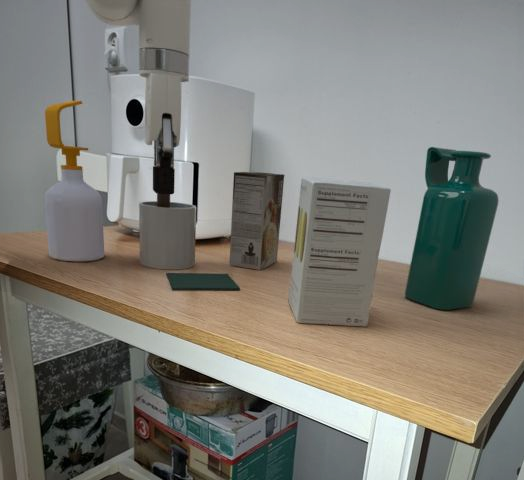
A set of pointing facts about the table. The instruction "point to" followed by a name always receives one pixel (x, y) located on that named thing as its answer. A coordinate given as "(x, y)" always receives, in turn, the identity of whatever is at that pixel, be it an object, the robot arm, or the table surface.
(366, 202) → the supplement box
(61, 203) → the soap bottle
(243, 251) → the coffee box
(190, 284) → the mat
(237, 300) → the table surface
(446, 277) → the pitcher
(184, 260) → the tumbler
